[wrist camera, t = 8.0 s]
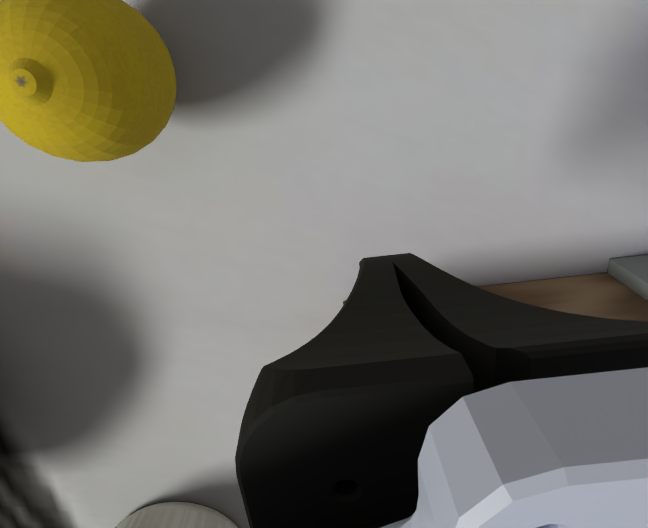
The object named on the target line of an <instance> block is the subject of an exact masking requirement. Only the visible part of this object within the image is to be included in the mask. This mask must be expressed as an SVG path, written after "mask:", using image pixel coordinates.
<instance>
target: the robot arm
mask: <svg viewBox="0 0 648 528" xmlns="http://www.w3.org/2000/svg"><path fill="white" fill-rule="evenodd" d="M359 265H360V270H359V274H358V277H357V280H356V282H355V285H354V287H353V289H352V292H351V293H350V295H349V297H348V299H347V301H346V302H345V304H344V306H343V307H342V309H341V310H340V311H339V313H338V314H337V315H336V317H335V318H334V319H333V320H332V322H331V323H330V324H329V325H328V326H327V327H326V328H325V329H324V330H323V331H322V332H321V333H319V334H318V335H317V336H316V337H315V338H313V339H312V340H311V341H309V342H308V343H306V344H305V345H303V346H302V347H300V348H299V349H297V350H295V351H294V352H292V353H290V354H288V355H286V356H284V357H282V358H280V359H278V360H276V361H274V362H272V363H270V364H268V365H266V366H264V367H263V368H262V369H261V372H260V374H259V376H258V378H257V381H256V383H255V385H254V388H253V390H252V393H251V396H250V398H249V401H248V404H247V406H246V410H245V413H244V416H243V420H242V424H241V429H240V434H239V440H238V445H237V451H236V456H235V461H236V474H237V479H238V483H239V487H240V491H241V494H242V498H243V502H244V506H245V510H246V514H247V517H248V521H249V525H250V528H648V321H634V320H621V319H609V318H600V317H593V316H586V315H579V314H572V313H567V312H561V311H556V310H551V309H547V308H543V307H538V306H534V305H530V304H526V303H522V302H518V301H515V300H512V299H509V298H506V297H503V296H500V295H497V294H494V293H491V292H488V291H485V290H483V289H480V288H478V287H476V286H474V285H471V284H469V283H467V282H464V281H462V280H460V279H458V278H456V277H454V276H452V275H450V274H448V273H446V272H444V271H443V270H441V269H439V268H437V267H435V266H433V265H432V264H430V263H428V262H426V261H424V260H423V259H421V258H419V257H417V256H415V255H413V254H411V253H406V254H397V255H388V256H378V257H369V258H363V259H362V260H361V261H360V262H359Z"/></svg>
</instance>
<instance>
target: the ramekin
mask: <svg viewBox="0 0 648 528" xmlns="http://www.w3.org/2000/svg"><path fill="white" fill-rule="evenodd" d="M115 528H238V527H237V526H236V525H235V524H234V523H233V522H232V521H231V520H230V519H229V518H227V517H226V516H224V515H223V514H221V513H219V512H218V511H216V510H213V509H211V508H209V507H205V506H202V505H198V504H194V503H188V502H166V503H158V504H154V505H150V506H147V507H145V508H142V509H140V510H138V511H136V512H135V513H133V514H131V515H129V516H128V517H126V518H125V519H124V520H122V521H121V522H120V523H119V524H118V525H117V526H116V527H115Z"/></svg>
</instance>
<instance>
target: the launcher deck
mask: <svg viewBox="0 0 648 528" xmlns="http://www.w3.org/2000/svg"><path fill="white" fill-rule="evenodd" d="M478 288H480V289H483V290H485V291H488V292H491V293H494V294H497V295H500V296H503V297H506V298H509V299H512V300H515V301H518V302H522V303H526V304H530V305H534V306H538V307H543V308H547V309H551V310H556V311H561V312H567V313H572V314H579V315H586V316H593V317H600V318H609V319H621V320H634V321H648V301H647V300H646V299H644V298H643V297H641V296H640V295H639V294H637V293H636V292H634V291H633V290H631V289H630V288H629V287H627V286H626V285H624V284H623V283H621V282H620V281H619V280H617V279H616V278H614V277H613V276H611V275H610V274H609V273H600V274H591V275H582V276H573V277H563V278H554V279H545V280H536V281H527V282H517V283H508V284H499V285H490V286H480V287H478ZM345 302H346V301H343V304H345Z"/></svg>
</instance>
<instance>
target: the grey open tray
mask: <svg viewBox="0 0 648 528" xmlns="http://www.w3.org/2000/svg"><path fill="white" fill-rule="evenodd" d="M607 273H609V274H610V275H611V276H613V277H614V278H616V279H617V280H619V281H620V282H621V283H623V284H624V285H626V286H627V287H629V288H630V289H631V290H633V291H634V292H636V293H637V294H639V295H640V296H641V297H643V298H644V299H646V300H647V301H648V255H641V256H632V257H623V258H613V259H610V261H609V266H608V272H607Z"/></svg>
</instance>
